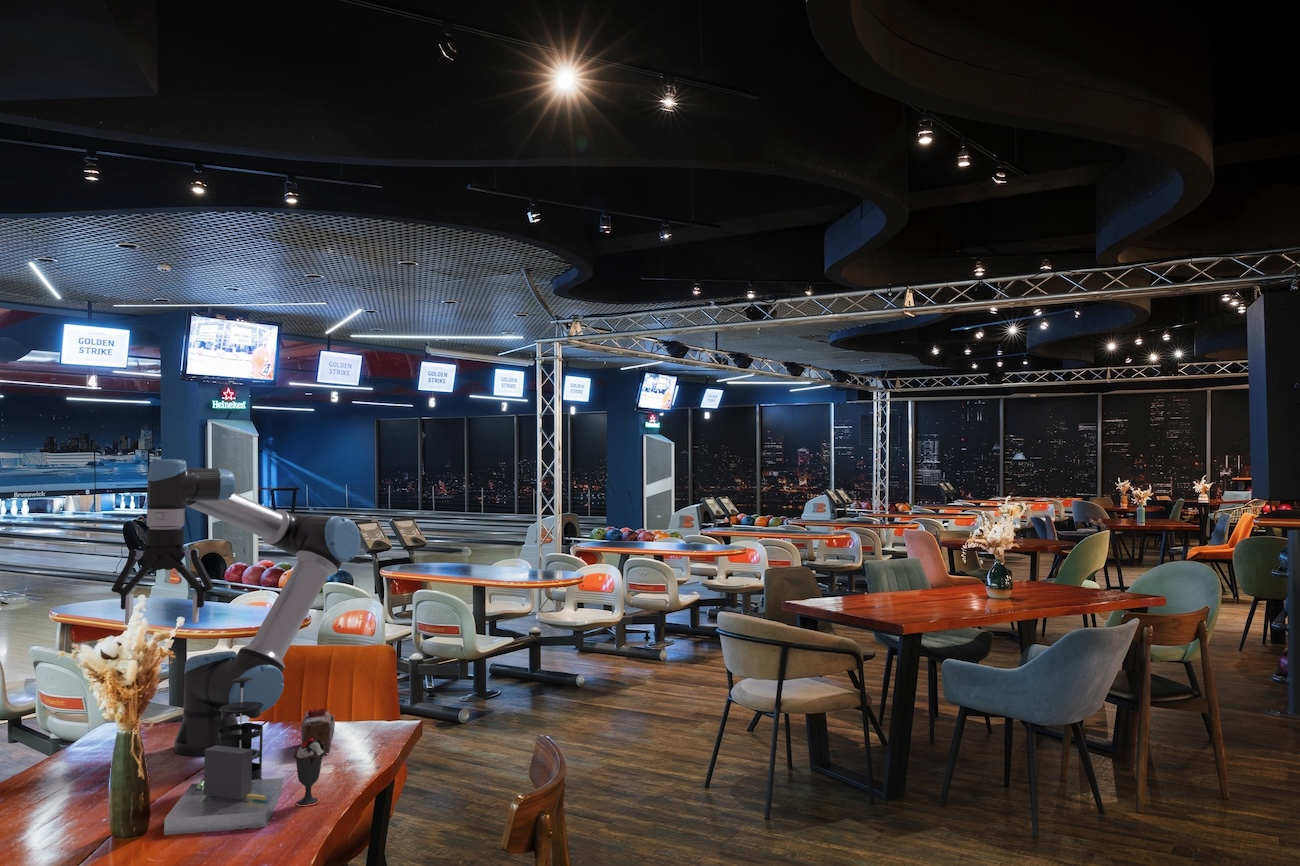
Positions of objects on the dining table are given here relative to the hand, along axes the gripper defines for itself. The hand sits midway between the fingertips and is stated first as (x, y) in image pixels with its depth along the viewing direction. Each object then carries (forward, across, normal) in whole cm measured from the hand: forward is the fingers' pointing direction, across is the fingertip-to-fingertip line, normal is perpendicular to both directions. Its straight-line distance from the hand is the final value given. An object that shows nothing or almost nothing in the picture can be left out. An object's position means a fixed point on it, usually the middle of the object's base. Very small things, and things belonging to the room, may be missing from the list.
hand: (162, 623), depth 204 cm
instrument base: (+35, +19, -23) cm, 46 cm away
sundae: (+35, +34, -21) cm, 53 cm away
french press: (+35, +18, -5) cm, 40 cm away
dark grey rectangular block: (+31, +21, -24) cm, 45 cm away
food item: (+35, +32, +18) cm, 51 cm away
